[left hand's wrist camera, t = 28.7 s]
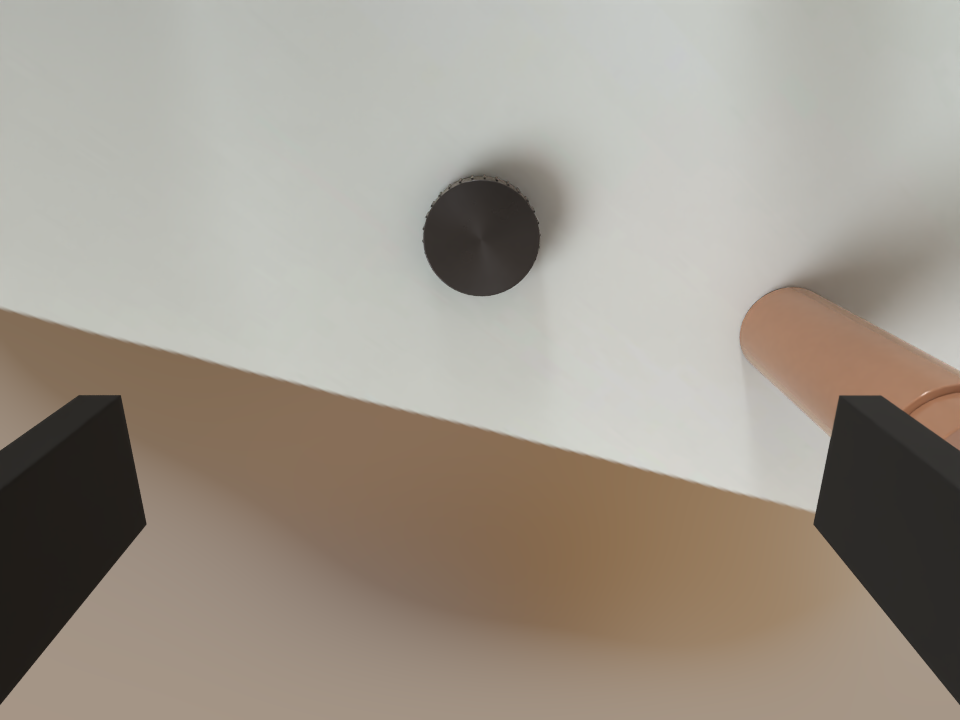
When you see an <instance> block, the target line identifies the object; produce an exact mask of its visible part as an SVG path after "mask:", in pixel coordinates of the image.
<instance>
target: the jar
mask: <svg viewBox="0 0 960 720" xmlns="http://www.w3.org/2000/svg"><path fill="white" fill-rule="evenodd" d="M740 345H741V349H742V351H743V354H744V356H745V357H746V359H747V360H748V361H749V362H750V363H751V364H752V365H753V366H754V367H755V368H756V369H757V370H758V371H759V372H760V373H761V374H763V375H764V376H765V377H766V378H767V379H768V380H769V381H770V382H771V383H772V384H773V385H774V386H776V387H777V388H778V389H779V390H780V391H781V392H782V393H783V394H784V395H785V396H786V397H787V398H788V399H790V400H791V401H792V402H793V403H794V404H795V405H796V406H797V407H798V408H799V409H800V410H801V411H803V412H804V413H805V414H806V415H807V416H808V417H809V418H810V419H811V420H812V421H813V422H814V423H816V424H817V425H818V426H819V427H820V428H821V429H822V430H823V431H824V432H825V433H826V434H827V435H828V436H830V437H831V434H832V429H833V424H834V419H835V414H836V409H837V404H838V399H839V395H881V396H883V397H884V398H886V399H887V400H888V401H890V402H891V403H893V404H894V405H896V406H897V407H898V408H900V409H901V410H903V411H904V412H906V413H907V414H908V415H910V416H911V417H913V418H914V419H915V420H917V421H918V422H920V423H921V424H923V425H924V426H925V427H927V428H928V429H930V430H931V431H933V432H934V433H935V434H937V435H938V436H940V437H941V438H942V439H944V440H945V441H947V442H948V443H950V444H951V445H952V446H954V447H955V448H957V449H958V450H960V371H959V370H957V369H956V368H954V367H952V366H950V365H948V364H946V363H944V362H943V361H941V360H939V359H937V358H935V357H933V356H931V355H930V354H928V353H926V352H924V351H922V350H920V349H918V348H917V347H915V346H913V345H911V344H909V343H907V342H905V341H903V340H902V339H900V338H898V337H896V336H894V335H892V334H890V333H889V332H887V331H885V330H883V329H881V328H879V327H877V326H876V325H874V324H872V323H870V322H868V321H866V320H864V319H863V318H861V317H859V316H857V315H855V314H853V313H851V312H849V311H848V310H846V309H844V308H842V307H840V306H838V305H836V304H835V303H833V302H831V301H829V300H827V299H825V298H823V297H822V296H820V295H818V294H816V293H814V292H812V291H810V290H807V289H804V288H799V287H788V288H782V289H778V290H775V291H773V292H770V293H768V294H767V295H765V296H763V297H762V298H761V299H759V300H758V301H757V302H756V303H755V304H754V305H753V306H752V307H751V308H750V310H749V311H748V312H747V314H746V316H745V318H744V320H743V322H742V326H741V330H740Z"/></svg>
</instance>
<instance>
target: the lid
mask: <svg viewBox="0 0 960 720" xmlns="http://www.w3.org/2000/svg"><path fill="white" fill-rule="evenodd" d="M528 202H529V201H528V199H527V197H526V196H525V197H524V196H523V195H522V194H521V192H520V191H519V189H518V188H515V187H514V186H512V185H510V184H509V182H508V181H507V182H505V181H503V180H500V179H498V177H495V178H494V177H488V176H486V175H484V176H475V177H474V176H473V175H472V176H471V177H469V178H465V179H462V178H461V179H460V180H459V181H458V182H456V183H454V184H452V185H451V184H450V185H449V186H448V188H447V189H445V190H444V191H443V192H440V194H439V197H438V198H437V199H436V201H433V203H432V205H431V207H432V208H431V210H430V212H428V213H427V215H426V218H427V219H426V222H425V225H424V227H423V230H424V233H423V243H424V250H425V254H426V257H427V260H428V262H429V265H430V266H431V268H432V270H433V271H434V272H435V274H436V275H437V276H438V277H439V278H440V279H441V280H442V281H443V282H444V283H445V284H446V285H448V286H449V287H451V288H453V289H454V290H456V291H459V292H461V293H464V294H467V295H473V296H490V295H495V294H499V293H502V292H504V291H506V290H508V289H510V288H512V287H513V286H515V285H516V284H518V283H519V282H520V281H521V280H522V279H523V278H524V277H525V276H526V275H527V274H528V272H529V271H530V269H531V268H532V266H533V264H534V262H535V260H536V256H537V253H538V249H539V240H540V233H539V227H538V224H539V222H538V220H537V218H536V217H535V214H534V212H535V211H534V209H533V207H531V206H530V205H529V203H528Z"/></svg>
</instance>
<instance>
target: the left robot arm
mask: <svg viewBox="0 0 960 720" xmlns="http://www.w3.org/2000/svg"><path fill="white" fill-rule="evenodd" d="M145 526H146V519H145V514H144V509H143V504H142V499H141V494H140V489H139V484H138V479H137V474H136V469H135V464H134V459H133V454H132V449H131V444H130V439H129V434H128V429H127V424H126V419H125V414H124V409H123V404H122V399H121V395H79V396H77V397H76V398H74V399H73V400H72V401H70V402H69V403H67V404H66V405H64V406H63V407H62V408H60V409H59V410H57V411H56V412H55V413H53V414H52V415H50V416H49V417H47V418H46V419H45V420H43V421H42V422H40V423H39V424H37V425H36V426H35V427H33V428H32V429H30V430H29V431H27V432H26V433H25V434H23V435H22V436H20V437H19V438H18V439H16V440H15V441H13V442H12V443H10V444H9V445H8V446H6V447H5V448H3V449H2V450H0V704H1V703H2V702H3V701H4V699H5V698H6V697H7V696H8V695H9V693H10V692H11V691H12V690H13V688H14V687H15V686H16V685H17V683H18V682H19V681H20V680H21V679H22V677H23V676H24V675H25V674H26V672H27V671H28V670H29V669H30V667H31V666H32V665H33V664H34V663H35V661H36V660H37V659H38V657H39V656H40V655H41V654H42V653H43V651H44V650H45V649H46V648H47V646H48V645H49V644H50V643H51V642H52V640H53V639H54V638H55V637H56V635H57V634H58V633H59V632H60V630H61V629H62V628H63V627H64V625H65V624H66V623H67V622H68V621H69V619H70V618H71V617H72V616H73V614H74V613H75V612H76V611H77V609H78V608H79V607H80V606H81V605H82V603H83V602H84V601H85V600H86V598H87V597H88V596H89V595H90V593H91V592H92V591H93V590H94V589H95V587H96V586H97V585H98V584H99V582H100V581H101V580H102V579H103V577H104V576H105V575H106V574H107V572H108V571H109V570H110V569H111V567H112V566H113V565H114V564H115V563H116V561H117V560H118V559H119V558H120V556H121V555H122V554H123V553H124V552H125V550H126V549H127V548H128V546H129V545H130V544H131V543H132V542H133V540H134V539H135V538H136V537H137V535H138V534H139V533H140V532H141V531H142V529H143V528H144V527H145ZM814 526H815V527H816V528H817V529H818V531H819V532H820V533H821V534H822V535H823V537H824V538H825V539H826V540H827V542H828V543H829V544H830V545H831V547H832V548H833V549H834V550H835V551H836V553H837V554H838V555H839V556H840V558H841V559H842V560H843V561H844V563H845V564H846V565H847V566H848V568H849V569H850V570H851V571H852V572H853V574H854V575H855V576H856V577H857V579H858V580H859V581H860V582H861V584H862V585H863V586H864V587H865V588H866V590H867V591H868V592H869V593H870V595H871V596H872V597H873V598H874V600H875V601H876V602H877V603H878V605H879V606H880V607H881V608H882V609H883V611H884V612H885V613H886V614H887V616H888V617H889V618H890V619H891V621H892V622H893V623H894V624H895V626H896V627H897V628H898V629H899V630H900V632H901V633H902V634H903V635H904V637H905V638H906V639H907V640H908V641H909V643H910V644H911V645H912V646H913V648H914V649H915V650H916V651H917V653H918V654H919V655H920V656H921V658H922V659H923V660H924V661H925V662H926V664H927V665H928V666H929V667H930V669H931V670H932V671H933V672H934V674H935V675H936V676H937V677H938V679H939V680H940V681H941V682H942V683H943V685H944V686H945V687H946V688H947V690H948V691H949V692H950V693H951V695H952V696H953V697H954V698H955V699H956V701H957V702H958V703H959V704H960V450H958V449H957V448H955V447H954V446H952V445H951V444H950V443H948V442H947V441H945V440H944V439H942V438H941V437H940V436H938V435H937V434H935V433H934V432H933V431H931V430H930V429H928V428H927V427H925V426H924V425H923V424H921V423H920V422H918V421H917V420H915V419H914V418H913V417H911V416H910V415H908V414H907V413H906V412H904V411H903V410H901V409H900V408H898V407H897V406H896V405H894V404H893V403H891V402H890V401H888V400H887V399H886V398H884V397H883V396H881V395H839V399H838V404H837V409H836V414H835V419H834V424H833V429H832V434H831V439H830V444H829V449H828V454H827V459H826V464H825V469H824V474H823V479H822V484H821V489H820V494H819V499H818V504H817V509H816V514H815V519H814Z"/></svg>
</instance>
